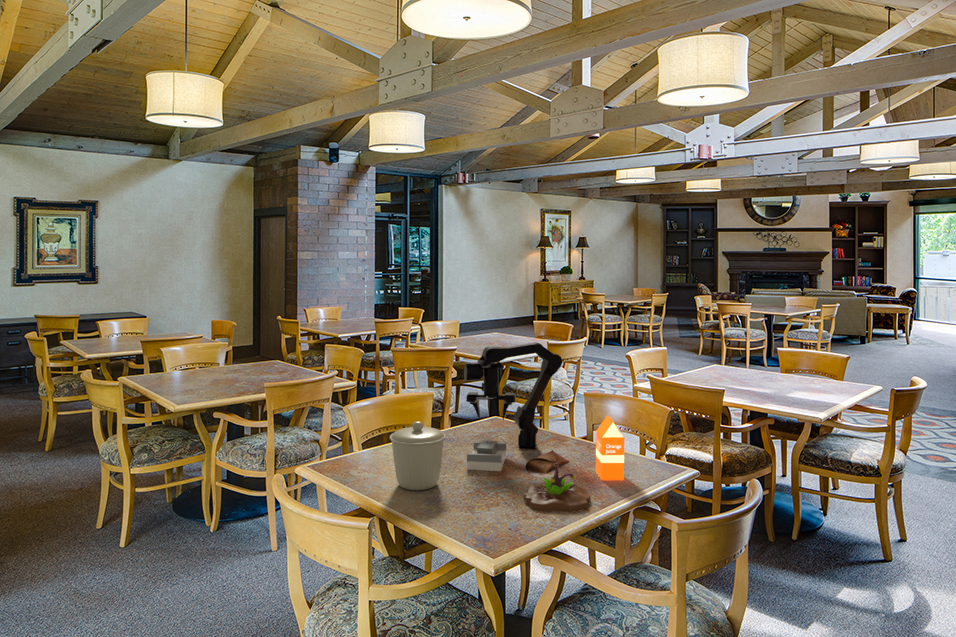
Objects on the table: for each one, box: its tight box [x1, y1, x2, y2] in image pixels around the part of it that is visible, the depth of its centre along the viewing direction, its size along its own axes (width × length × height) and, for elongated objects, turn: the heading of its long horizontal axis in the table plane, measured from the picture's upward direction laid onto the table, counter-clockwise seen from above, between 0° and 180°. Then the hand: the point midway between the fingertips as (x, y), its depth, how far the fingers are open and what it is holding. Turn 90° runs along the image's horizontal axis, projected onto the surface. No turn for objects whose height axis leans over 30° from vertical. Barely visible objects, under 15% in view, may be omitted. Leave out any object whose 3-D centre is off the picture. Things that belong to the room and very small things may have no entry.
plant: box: [523, 463, 591, 513], centre depth 193 cm, size 20×20×11 cm
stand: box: [466, 441, 507, 472], centre depth 228 cm, size 12×16×6 cm
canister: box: [389, 420, 447, 491], centre depth 204 cm, size 18×18×21 cm
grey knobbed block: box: [477, 437, 498, 454], centre depth 227 cm, size 10×6×5 cm, turn 169°
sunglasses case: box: [525, 449, 571, 475], centre depth 225 cm, size 18×7×7 cm, turn 144°
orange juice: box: [595, 415, 625, 481], centre depth 213 cm, size 8×9×20 cm
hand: (491, 419), depth 244 cm, fingers open, 9 cm apart
